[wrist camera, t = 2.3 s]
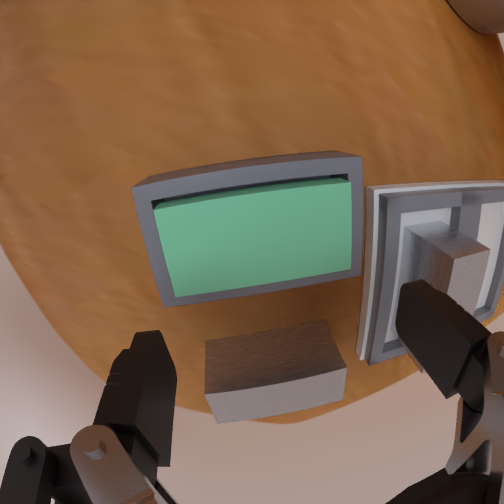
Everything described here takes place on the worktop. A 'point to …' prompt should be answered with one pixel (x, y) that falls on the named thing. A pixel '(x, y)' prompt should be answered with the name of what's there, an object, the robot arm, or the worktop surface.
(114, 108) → the worktop surface
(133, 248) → the worktop surface
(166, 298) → the box
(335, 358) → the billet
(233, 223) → the button
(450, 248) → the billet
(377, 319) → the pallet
